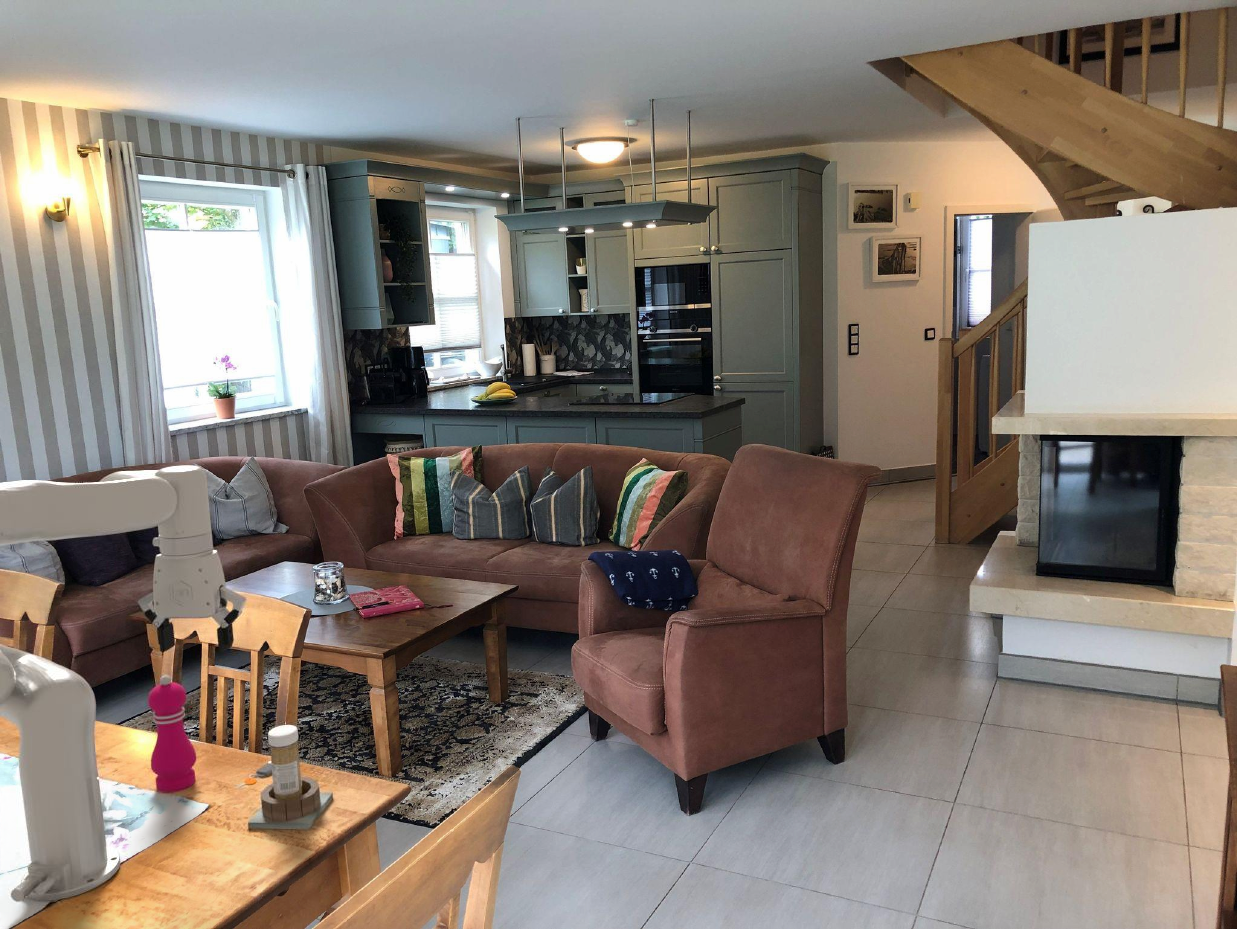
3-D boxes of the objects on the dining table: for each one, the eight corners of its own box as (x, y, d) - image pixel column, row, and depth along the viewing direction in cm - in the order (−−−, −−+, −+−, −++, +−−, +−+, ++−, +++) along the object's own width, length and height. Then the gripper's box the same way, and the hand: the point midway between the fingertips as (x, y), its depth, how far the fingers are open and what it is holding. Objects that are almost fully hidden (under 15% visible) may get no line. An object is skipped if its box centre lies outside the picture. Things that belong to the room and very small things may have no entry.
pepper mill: (206, 774, 170) (196, 668, 167) (184, 794, 162) (173, 683, 160) (168, 773, 170) (157, 667, 167) (144, 793, 163) (132, 683, 160)
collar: (309, 829, 150) (307, 805, 149) (248, 828, 151) (246, 804, 150) (333, 798, 160) (331, 775, 159) (275, 797, 161) (274, 775, 160)
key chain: (275, 762, 175) (274, 754, 175) (291, 765, 173) (290, 757, 173) (222, 795, 163) (221, 787, 163) (238, 798, 162) (237, 790, 161)
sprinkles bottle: (307, 799, 158) (300, 723, 156) (299, 813, 153) (293, 735, 151) (279, 801, 157) (272, 724, 155) (270, 815, 153) (263, 736, 151)
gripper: (119, 550, 146) (131, 657, 148) (227, 550, 144) (237, 657, 147) (147, 539, 153) (158, 641, 156) (250, 538, 152) (259, 641, 154)
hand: (196, 649), depth 151 cm, fingers open, 9 cm apart
